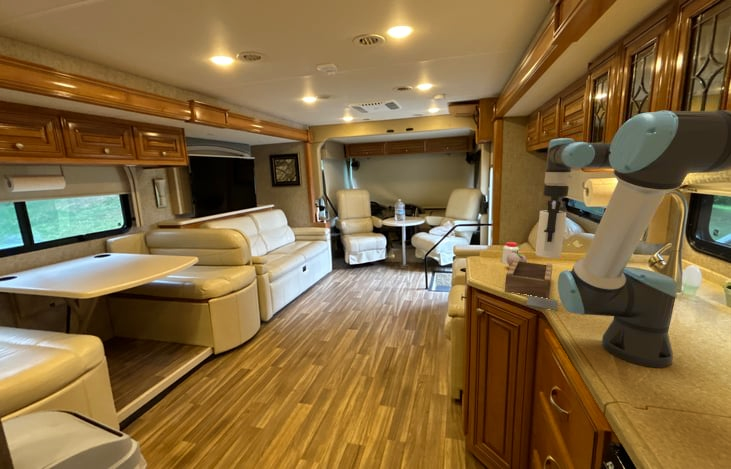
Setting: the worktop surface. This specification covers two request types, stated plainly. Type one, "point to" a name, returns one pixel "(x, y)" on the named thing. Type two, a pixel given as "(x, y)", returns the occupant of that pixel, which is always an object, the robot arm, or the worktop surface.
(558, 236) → the cup
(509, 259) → the decorative fruit
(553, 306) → the panel
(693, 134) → the robot arm
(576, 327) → the worktop surface
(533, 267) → the crate
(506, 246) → the pill bottle
